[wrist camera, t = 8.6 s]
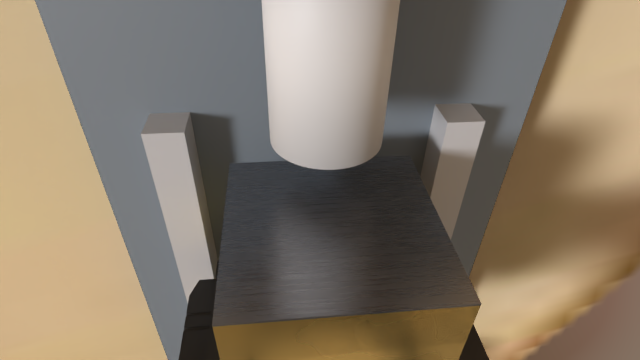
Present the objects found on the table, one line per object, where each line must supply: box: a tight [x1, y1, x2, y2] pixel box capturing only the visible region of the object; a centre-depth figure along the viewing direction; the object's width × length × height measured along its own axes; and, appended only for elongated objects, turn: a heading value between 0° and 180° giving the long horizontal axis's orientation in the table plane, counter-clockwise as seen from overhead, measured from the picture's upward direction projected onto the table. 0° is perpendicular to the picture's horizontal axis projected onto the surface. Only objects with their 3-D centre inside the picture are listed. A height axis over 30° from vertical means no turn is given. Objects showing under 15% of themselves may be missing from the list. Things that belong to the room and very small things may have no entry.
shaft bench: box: [35, 0, 567, 360], centre depth 13 cm, size 26×12×7 cm, turn 179°
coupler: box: [212, 155, 481, 360], centre depth 11 cm, size 8×4×4 cm, turn 179°
